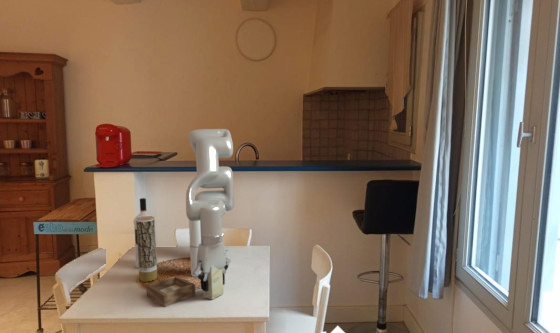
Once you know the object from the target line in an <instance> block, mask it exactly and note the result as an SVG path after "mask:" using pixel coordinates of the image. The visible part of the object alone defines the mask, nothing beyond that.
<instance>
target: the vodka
mask: <svg viewBox="0 0 560 333" xmlns="http://www.w3.org/2000/svg"><path fill="white" fill-rule="evenodd" d="M139 210H140V211H139V214H138V215H136V216H135V217H134V219H133V229H134V243H135V244H134V247H135V259H134V266H135V267H136V268H138V269H139V261H138V243H137V225H136V219H137V218H139V217H144V216H152V215H151V214H149V213H148V212H147V211H148V210H147V198H145V197H142V198H140V199H139ZM156 260H157V261H158V258H157V257H156Z"/></svg>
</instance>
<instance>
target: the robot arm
mask: <svg viewBox="0 0 560 333" xmlns="http://www.w3.org/2000/svg"><path fill="white" fill-rule="evenodd" d="M188 139H189V140H188V141H189V144H190V147H191V148H192V150H193V153H194V155H195V158H196V159H195V161H196V163H195V164H196V176H195V177H194V178H193V179H192V180H191V181H190V183H189V185H188V186H187V189H186V192H185V212H186V213H185V214H186V217H187V219H188V221H189V220H191V221H200V229H201V244H199V247H198V253H197V267H196V268H195V270H194V271H193V274H194V275H195V276H196V277H195V278H198V280H200V289H201V290H202V291H203V290H204V291H206V292H207V291H208V281H207V280H206V279H207V276H208V273H209V272H210V268H211V266H215V267H216V268H217V269H221V268H222V271H223V286H224V285H225V283H226V282H225V281H226V280H225V276H226V274H227V270H228V268H229V265H230V263H231V262H232V261H231V259H230V258H228V257H227V252H228V251H229V247H227V246H225V242H224V240H223V237H225V233H224V232H223V225H222V224H223V221H222V220H223V218H224V215H225V214H226V212H229V211H232V210H233V209H234V207H235V184H234V183H235V182H234V173H233V170H232V168H231V167H230V166H226V165H225V166H223V165H222V166H220V165H219V164H220V162H219V159H230V158H231V157H233V153H234V143H233V139H232V134H231V132H230V130H229V129H227V128H200V129H198V128H197V129H193V130H191V131H190V132H189V135H188ZM199 188H201V189H219V190H203V191H199V192H197V193H196V194H195V192H196V191H197V190H198V189H199ZM220 189H222V190H220ZM199 271H201V273H199ZM204 273H205V274H204ZM203 275H204V277H203Z"/></svg>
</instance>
